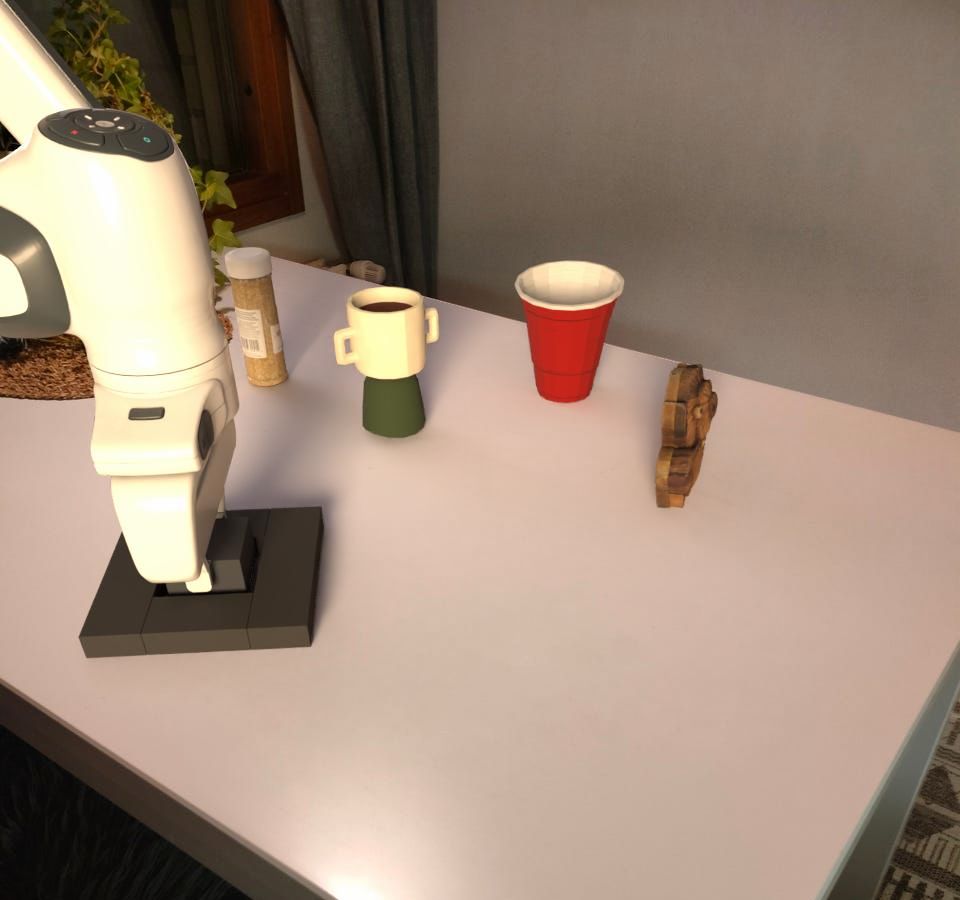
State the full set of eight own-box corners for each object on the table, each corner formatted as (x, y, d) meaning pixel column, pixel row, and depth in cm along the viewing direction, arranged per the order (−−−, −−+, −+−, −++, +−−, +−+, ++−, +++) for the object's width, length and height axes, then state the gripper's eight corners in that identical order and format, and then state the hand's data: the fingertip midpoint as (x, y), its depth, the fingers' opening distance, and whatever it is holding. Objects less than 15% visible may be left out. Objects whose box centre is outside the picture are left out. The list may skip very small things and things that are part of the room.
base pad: (86, 658, 65) (77, 637, 64) (134, 533, 78) (128, 513, 76) (311, 647, 66) (307, 626, 65) (324, 525, 78) (321, 505, 77)
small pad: (170, 601, 69) (159, 563, 67) (183, 556, 73) (174, 520, 71) (247, 597, 69) (239, 559, 67) (256, 553, 74) (249, 516, 72)
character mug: (423, 402, 96) (417, 276, 88) (459, 429, 92) (456, 299, 83) (329, 429, 92) (313, 299, 83) (362, 459, 87) (348, 324, 79)
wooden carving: (700, 532, 77) (720, 423, 71) (646, 525, 78) (660, 418, 72) (707, 440, 90) (724, 341, 83) (660, 436, 90) (673, 337, 84)
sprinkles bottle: (296, 379, 101) (278, 252, 92) (261, 391, 98) (239, 263, 90) (272, 366, 103) (253, 242, 95) (238, 378, 101) (214, 252, 92)
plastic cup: (497, 404, 96) (498, 289, 88) (533, 364, 103) (536, 254, 95) (597, 423, 92) (607, 304, 85) (626, 380, 100) (637, 267, 92)
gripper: (152, 330, 69) (190, 489, 78) (81, 466, 53) (139, 646, 62) (236, 328, 69) (265, 486, 78) (190, 462, 54) (233, 641, 63)
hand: (209, 558), depth 70 cm, fingers closed on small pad, 6 cm apart
